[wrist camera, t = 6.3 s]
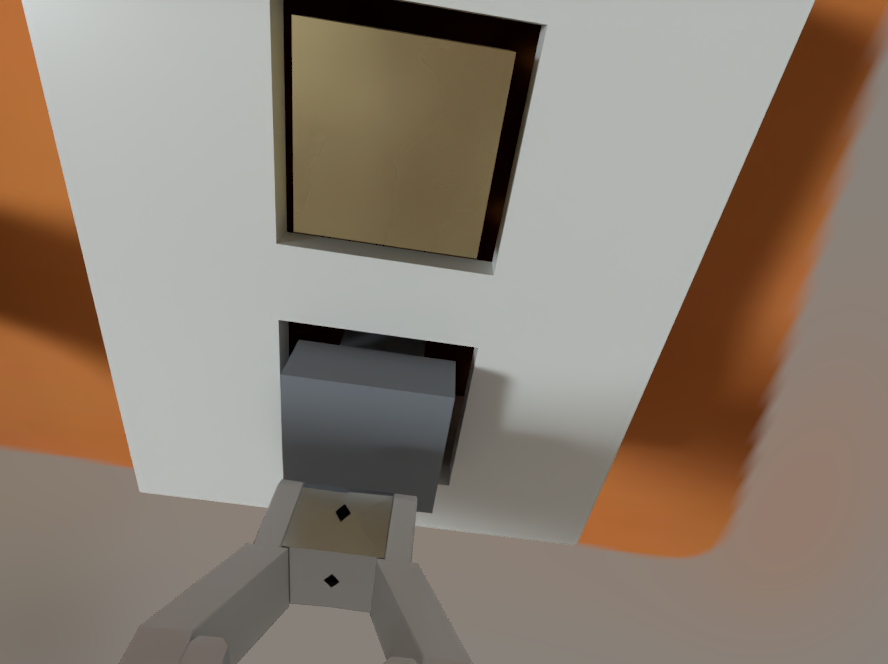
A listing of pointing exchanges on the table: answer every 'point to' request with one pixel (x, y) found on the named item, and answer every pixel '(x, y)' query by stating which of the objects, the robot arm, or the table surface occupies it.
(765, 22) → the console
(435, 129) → the brass key
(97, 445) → the table surface
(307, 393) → the slate key
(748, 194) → the table surface
